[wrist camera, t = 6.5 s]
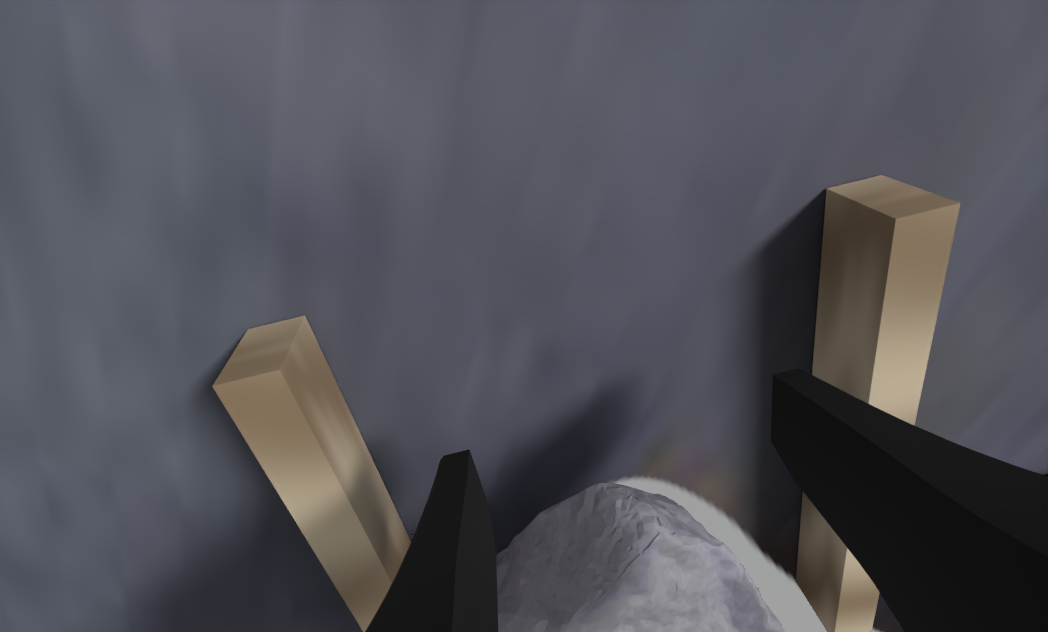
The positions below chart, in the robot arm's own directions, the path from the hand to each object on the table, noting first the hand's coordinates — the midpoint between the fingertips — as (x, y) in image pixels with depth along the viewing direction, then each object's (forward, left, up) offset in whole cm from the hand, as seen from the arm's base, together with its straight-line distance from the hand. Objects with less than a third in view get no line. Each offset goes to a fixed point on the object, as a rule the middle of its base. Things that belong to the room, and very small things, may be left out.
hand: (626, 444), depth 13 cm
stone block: (-11, 0, -4) cm, 12 cm away
